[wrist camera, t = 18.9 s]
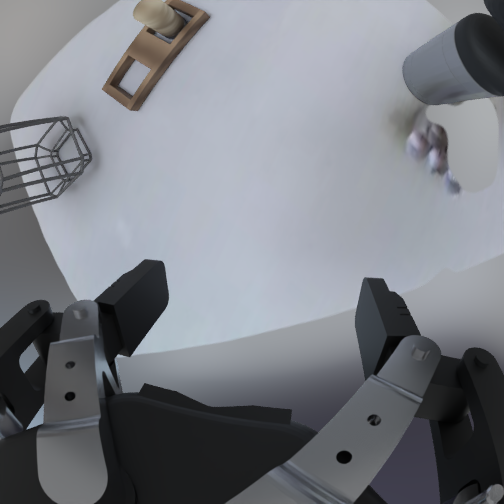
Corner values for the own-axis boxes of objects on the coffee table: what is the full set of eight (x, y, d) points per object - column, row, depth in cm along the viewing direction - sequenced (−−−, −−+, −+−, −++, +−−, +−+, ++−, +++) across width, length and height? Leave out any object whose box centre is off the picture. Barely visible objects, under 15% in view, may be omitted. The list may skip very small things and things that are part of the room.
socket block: (176, 1, 31) (170, -4, 29) (209, 17, 32) (204, 11, 30) (110, 90, 39) (101, 89, 37) (137, 111, 40) (129, 110, 38)
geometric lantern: (68, 204, 50) (-69, 272, 18) (43, 145, 46) (-91, 183, 14) (112, 163, 45) (-67, 222, 13) (83, 99, 41) (-81, 112, 9)
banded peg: (174, 14, 33) (146, -7, 24) (193, 23, 33) (167, 1, 24) (159, 33, 34) (127, 16, 25) (176, 43, 35) (146, 25, 26)
